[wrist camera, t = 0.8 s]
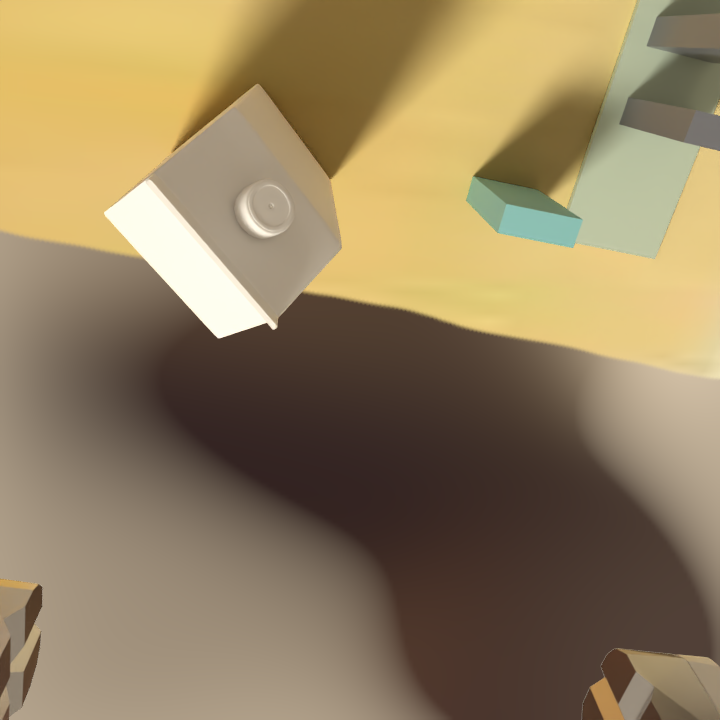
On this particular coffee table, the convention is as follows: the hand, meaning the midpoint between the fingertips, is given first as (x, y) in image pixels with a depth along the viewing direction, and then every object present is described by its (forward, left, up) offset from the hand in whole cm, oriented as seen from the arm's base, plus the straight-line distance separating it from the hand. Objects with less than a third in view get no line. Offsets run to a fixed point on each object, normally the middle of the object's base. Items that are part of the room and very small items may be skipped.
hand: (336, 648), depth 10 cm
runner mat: (-12, +20, -37) cm, 44 cm away
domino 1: (-1, +12, -37) cm, 39 cm away
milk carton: (0, -4, -37) cm, 37 cm away
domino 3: (-8, +20, -36) cm, 42 cm away
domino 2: (-12, +20, -36) cm, 43 cm away
